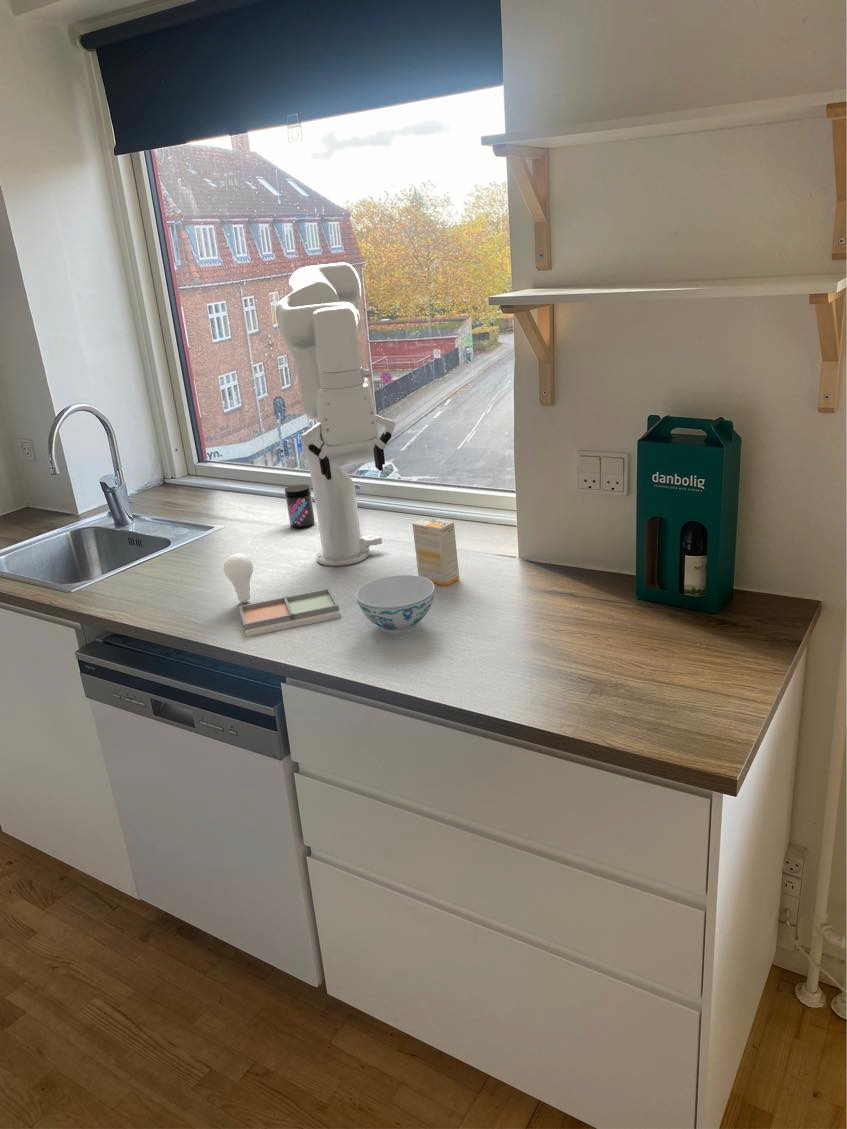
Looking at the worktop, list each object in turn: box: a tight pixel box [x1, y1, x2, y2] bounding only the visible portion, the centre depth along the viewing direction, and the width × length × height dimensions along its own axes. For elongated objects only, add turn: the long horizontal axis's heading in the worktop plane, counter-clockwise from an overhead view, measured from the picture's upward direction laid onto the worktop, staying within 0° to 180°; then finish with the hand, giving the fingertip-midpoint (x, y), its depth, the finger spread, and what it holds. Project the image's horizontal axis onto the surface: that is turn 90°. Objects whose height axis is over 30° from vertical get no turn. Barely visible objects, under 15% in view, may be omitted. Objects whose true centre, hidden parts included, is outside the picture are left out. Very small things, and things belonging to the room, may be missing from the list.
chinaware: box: [355, 574, 436, 635], centre depth 166 cm, size 15×15×8 cm
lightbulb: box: [223, 553, 254, 603], centre depth 184 cm, size 6×6×11 cm
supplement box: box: [412, 516, 460, 587], centre depth 185 cm, size 8×5×13 cm, turn 47°
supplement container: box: [284, 484, 316, 530], centre depth 231 cm, size 7×7×10 cm
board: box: [238, 587, 342, 637], centre depth 177 cm, size 19×12×2 cm, turn 106°
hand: (354, 473), depth 159 cm, fingers open, 9 cm apart
